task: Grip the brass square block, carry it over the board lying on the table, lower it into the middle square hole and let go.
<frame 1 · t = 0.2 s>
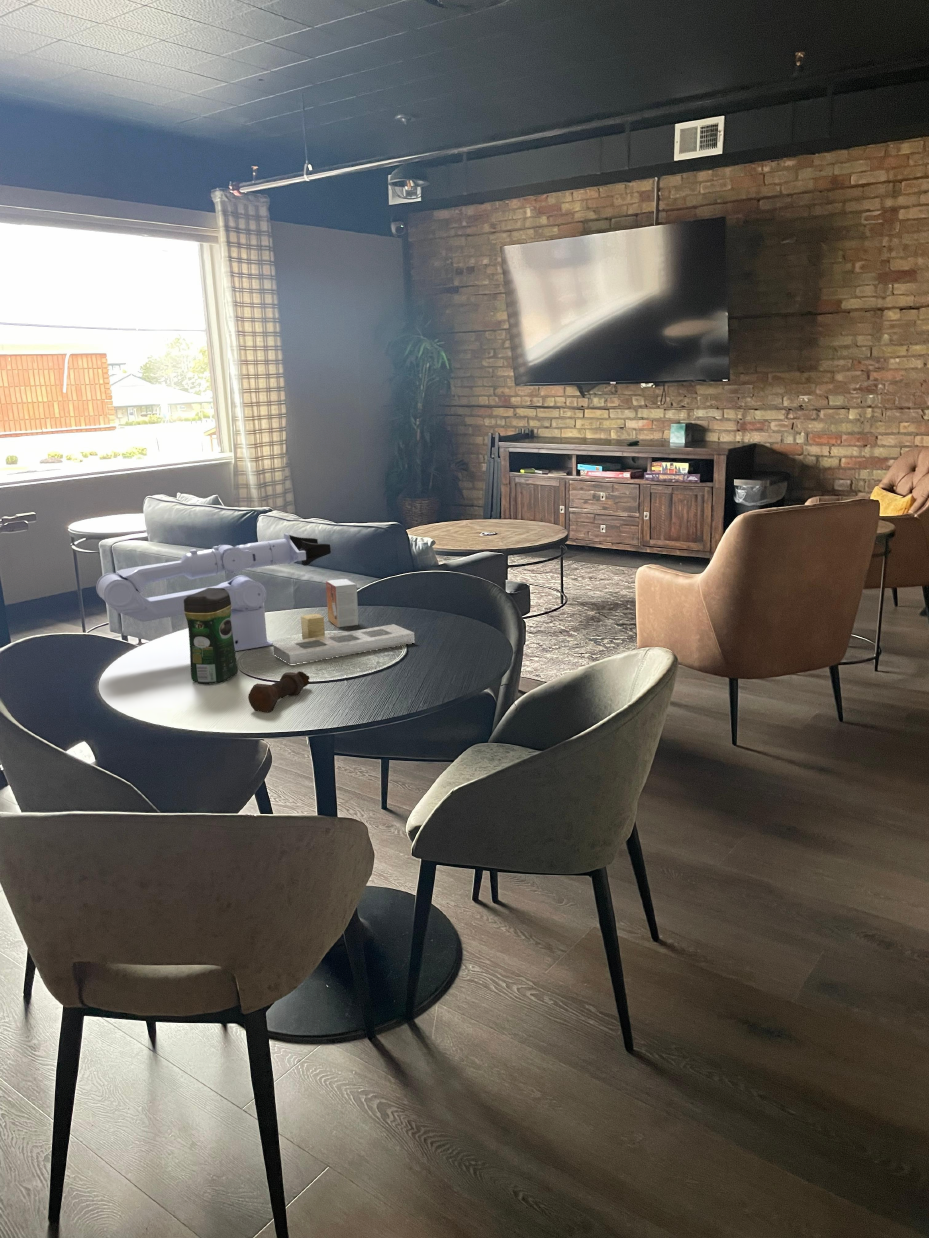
hand: (323, 545, 216), 21 cm above the table, tool horizontal, fingers open, 7 cm apart
bolt: (284, 701, 173), on the table
coffee jar: (214, 679, 187), on the table
block: (313, 641, 213), on the table
board: (345, 649, 206), on the table
small box: (343, 623, 230), on the table
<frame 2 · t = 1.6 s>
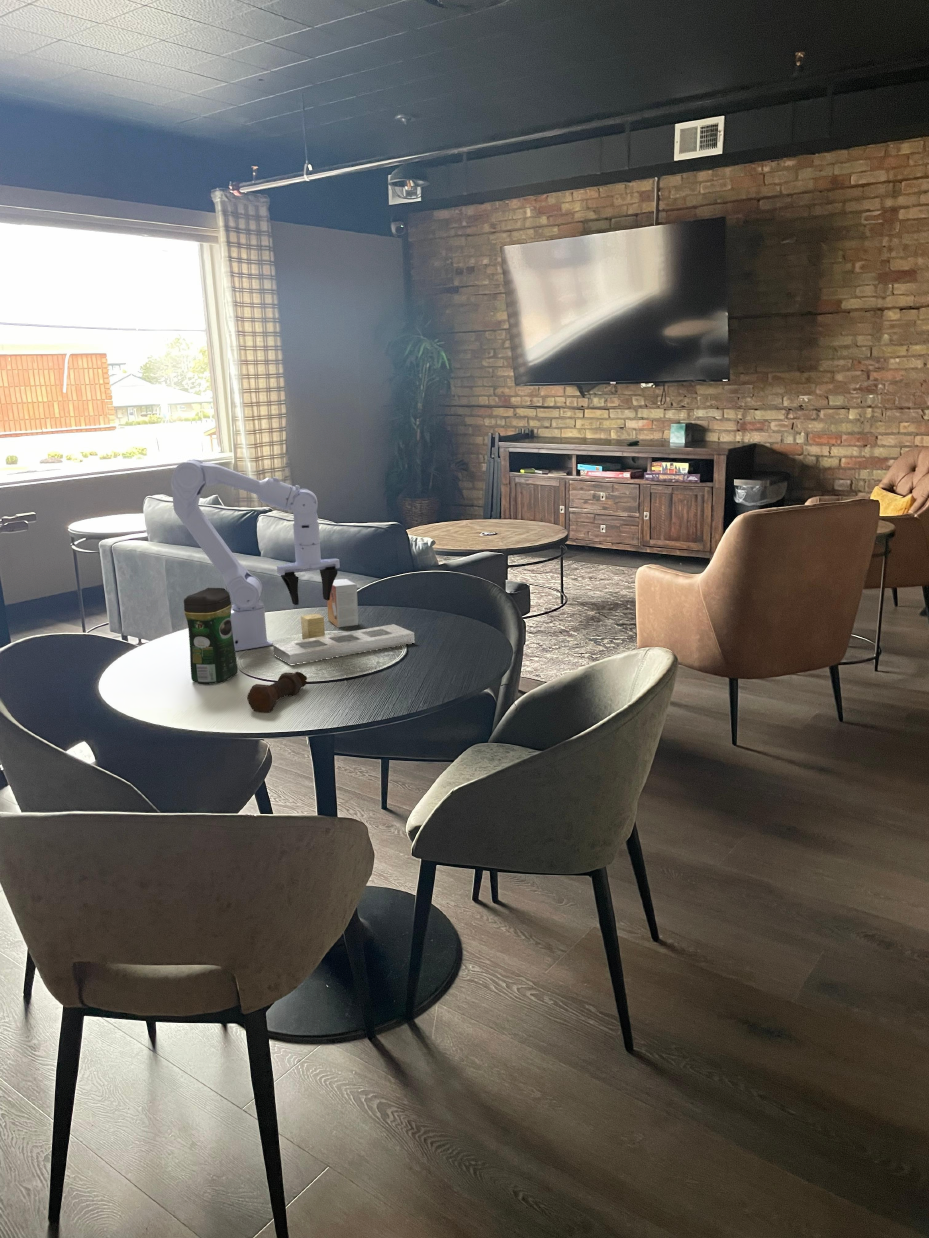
hand: (311, 601, 211), 9 cm above the table, tool pointing down, fingers open, 7 cm apart
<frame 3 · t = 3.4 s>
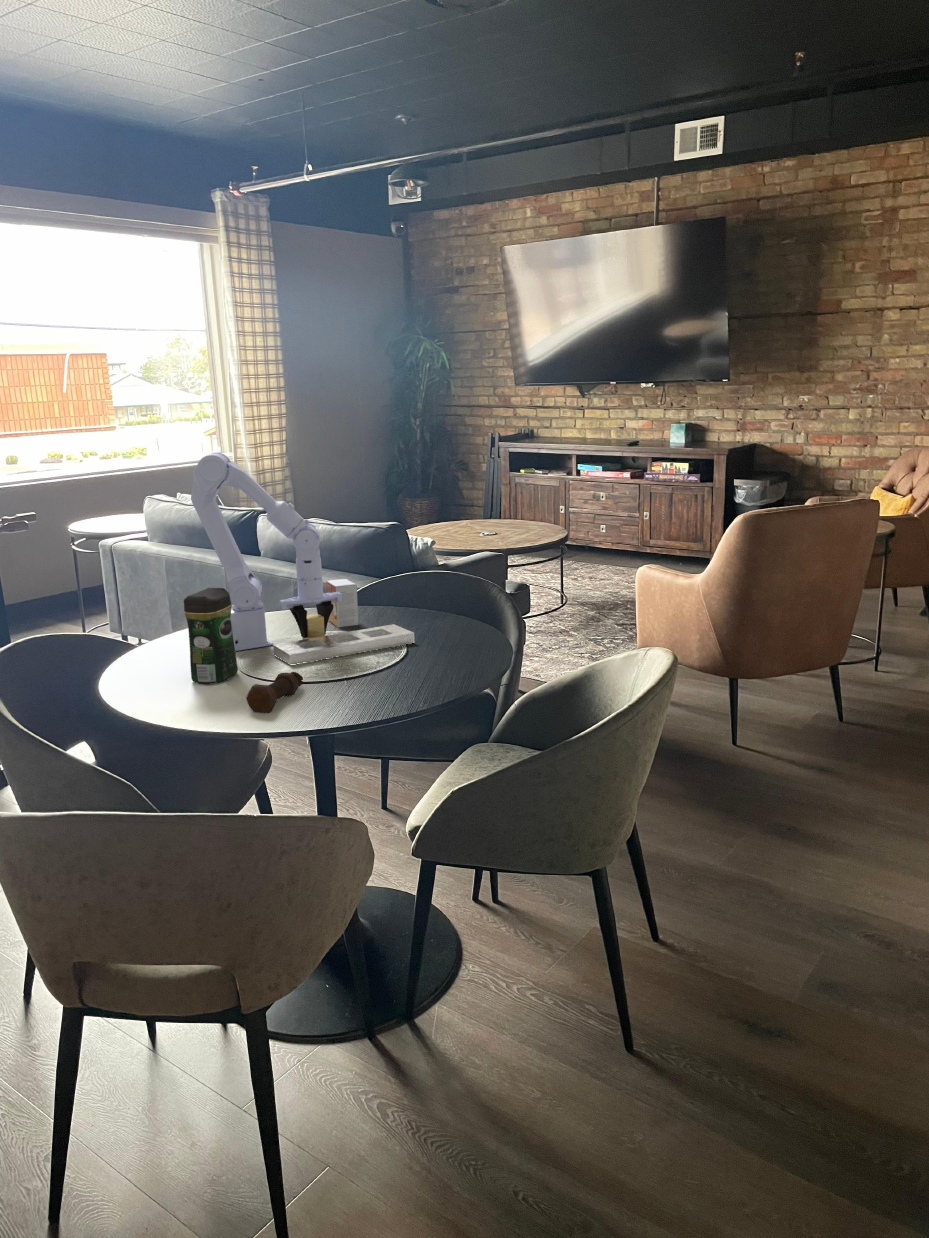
hand: (313, 635, 213), 1 cm above the table, tool pointing down, fingers closed on block, 4 cm apart
block: (313, 641, 213), on the table, touching gripper
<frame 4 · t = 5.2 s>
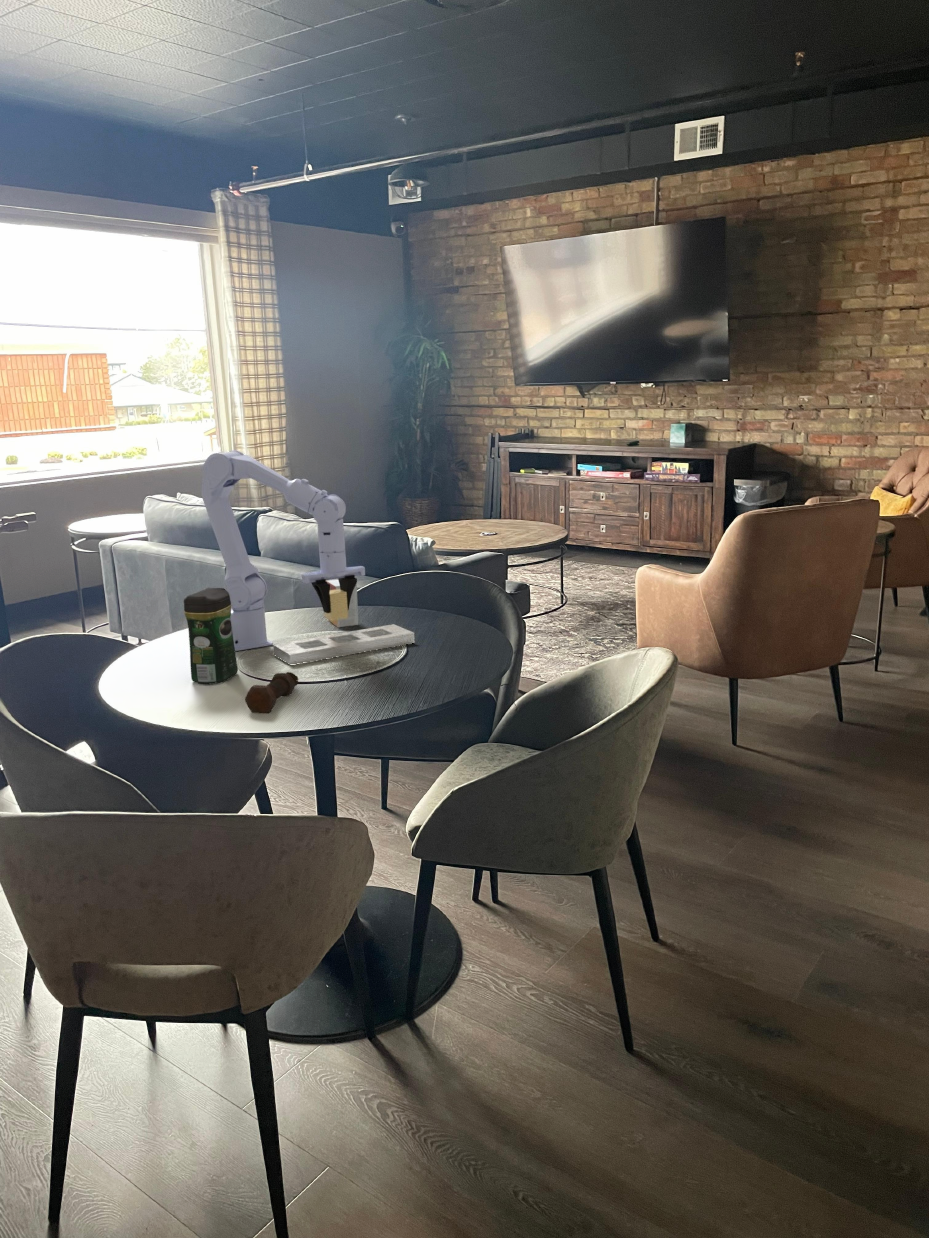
hand: (336, 610, 205), 9 cm above the table, tool pointing down, fingers closed on block, 4 cm apart
block: (336, 617, 206), point 7 cm above the table, touching gripper
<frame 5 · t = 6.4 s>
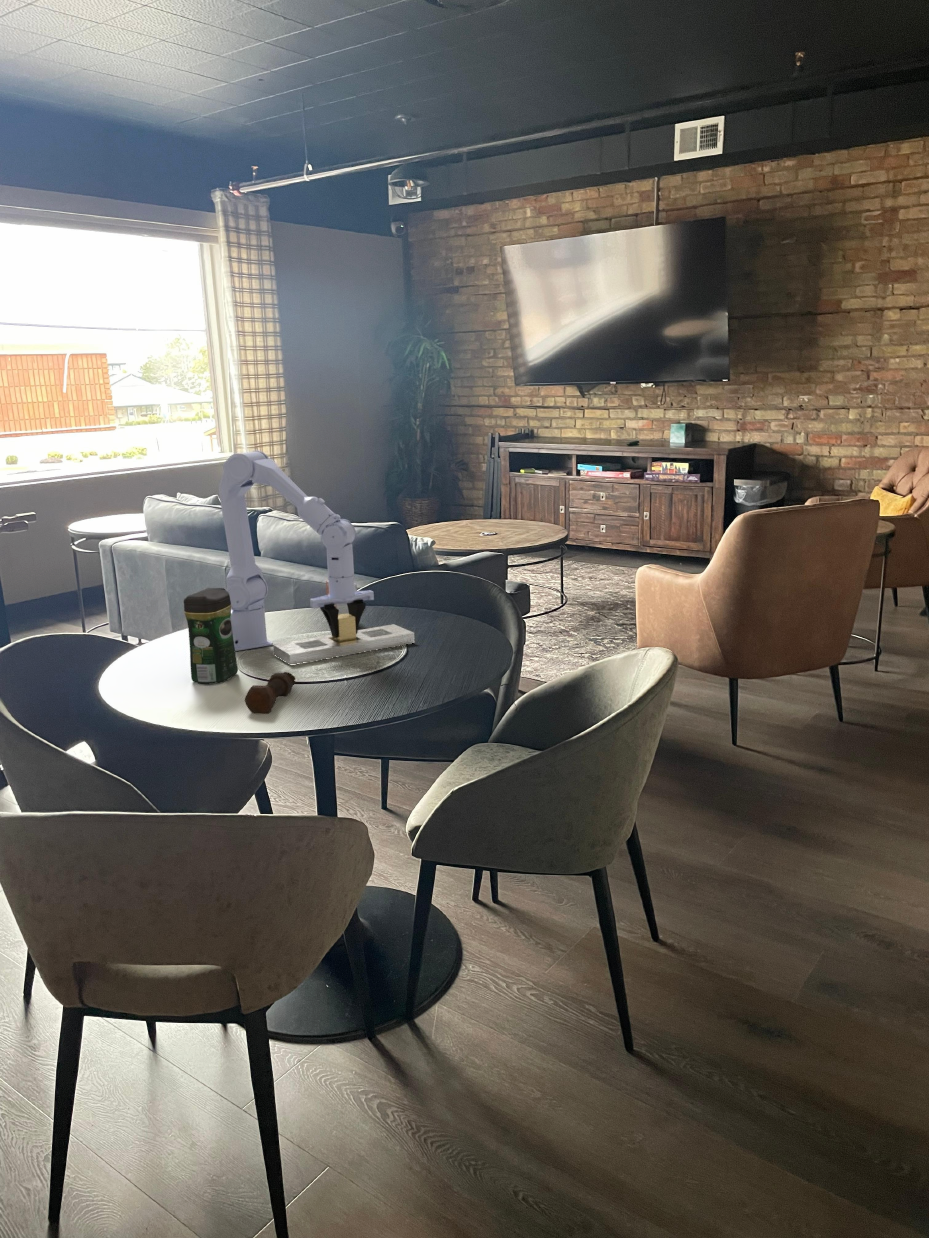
hand: (344, 635, 205), 3 cm above the table, tool pointing down, fingers closed on block, 4 cm apart
block: (344, 642, 206), point 2 cm above the table, touching gripper
when the fingers open (3 cm above the table, at t = 7.2 s): block drops 2 cm, resting in board.
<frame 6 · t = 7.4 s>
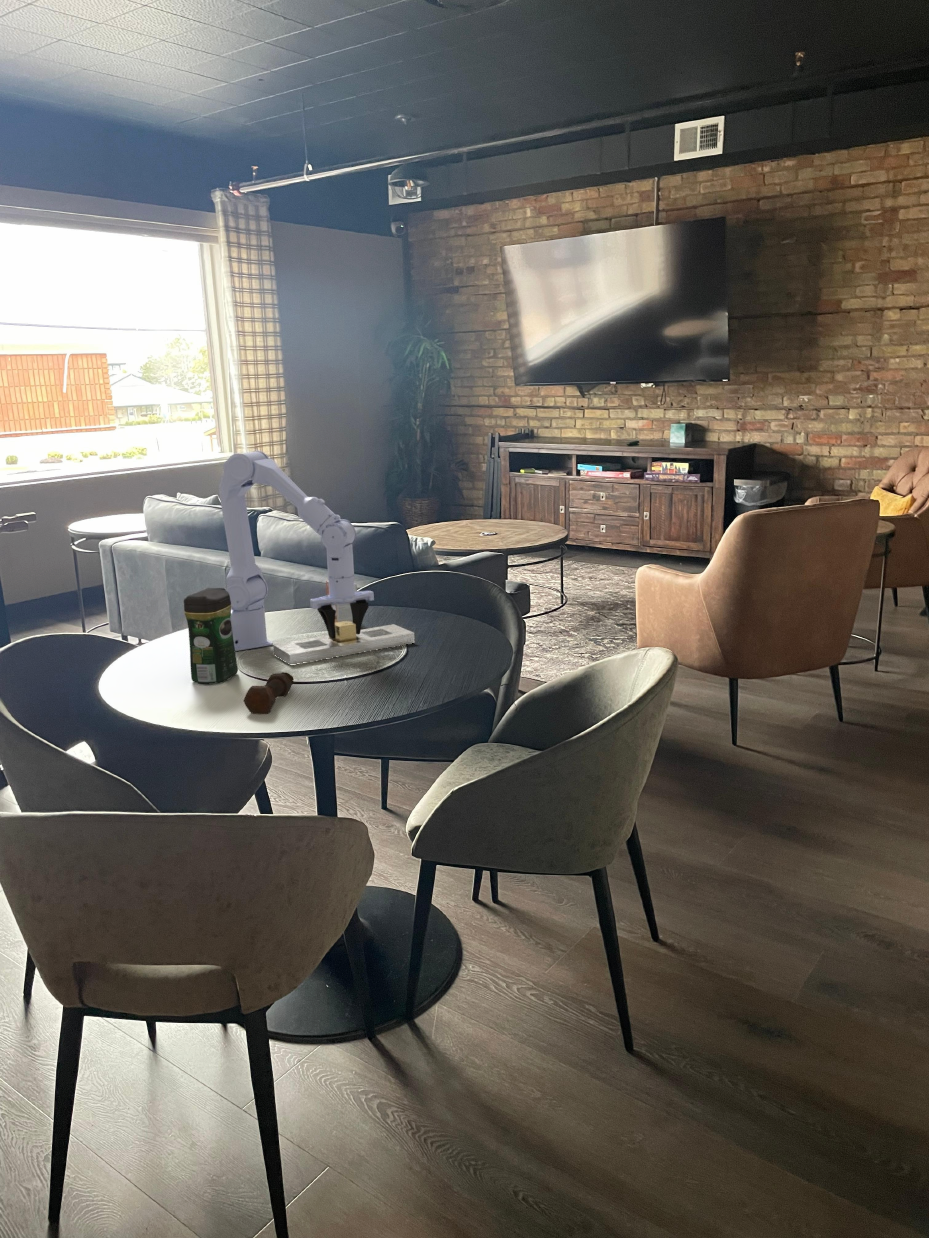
hand: (344, 635, 205), 3 cm above the table, tool pointing down, fingers open, 5 cm apart
block: (345, 649, 206), resting in board
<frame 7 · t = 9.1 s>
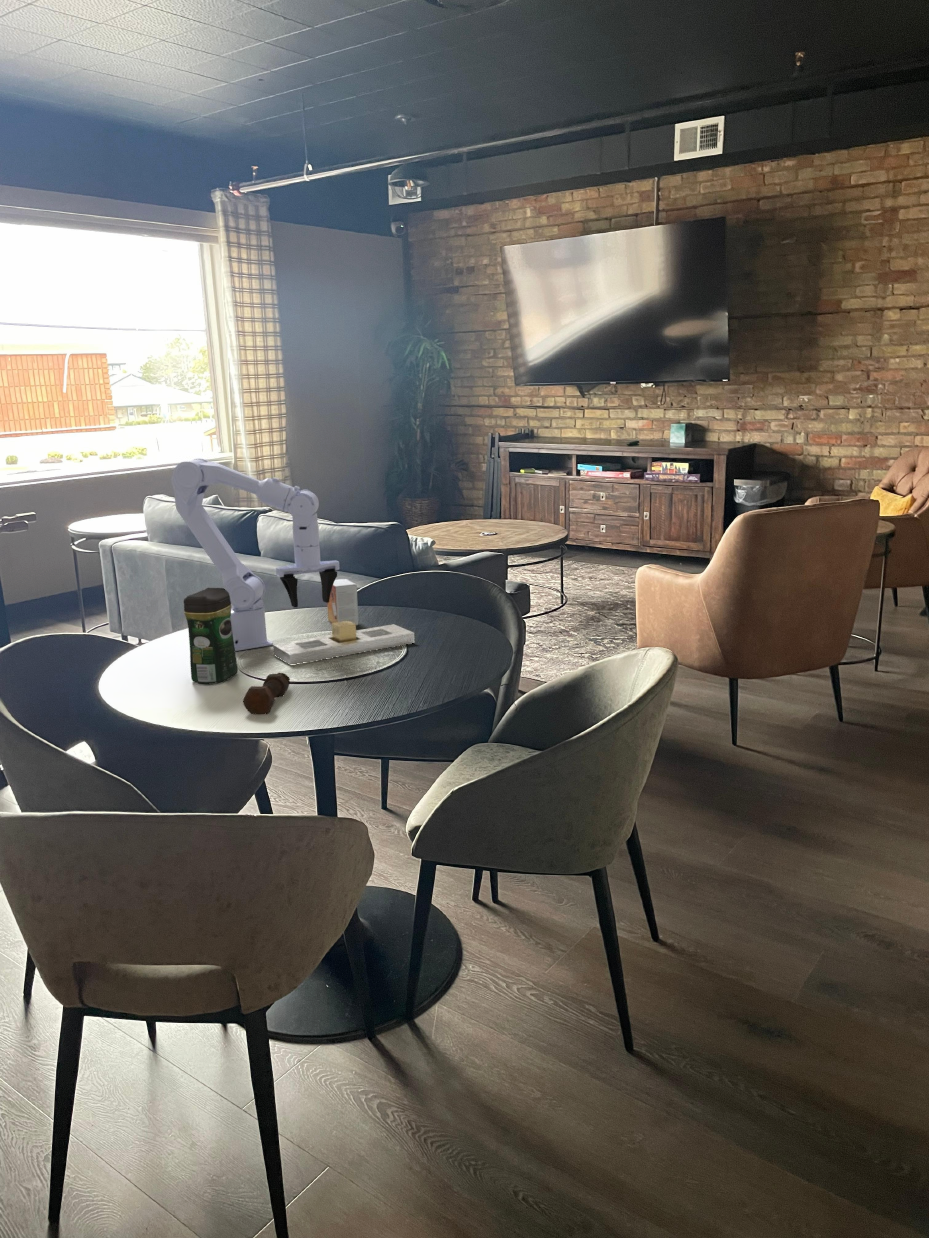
hand: (310, 604, 209), 9 cm above the table, tool pointing down, fingers open, 7 cm apart
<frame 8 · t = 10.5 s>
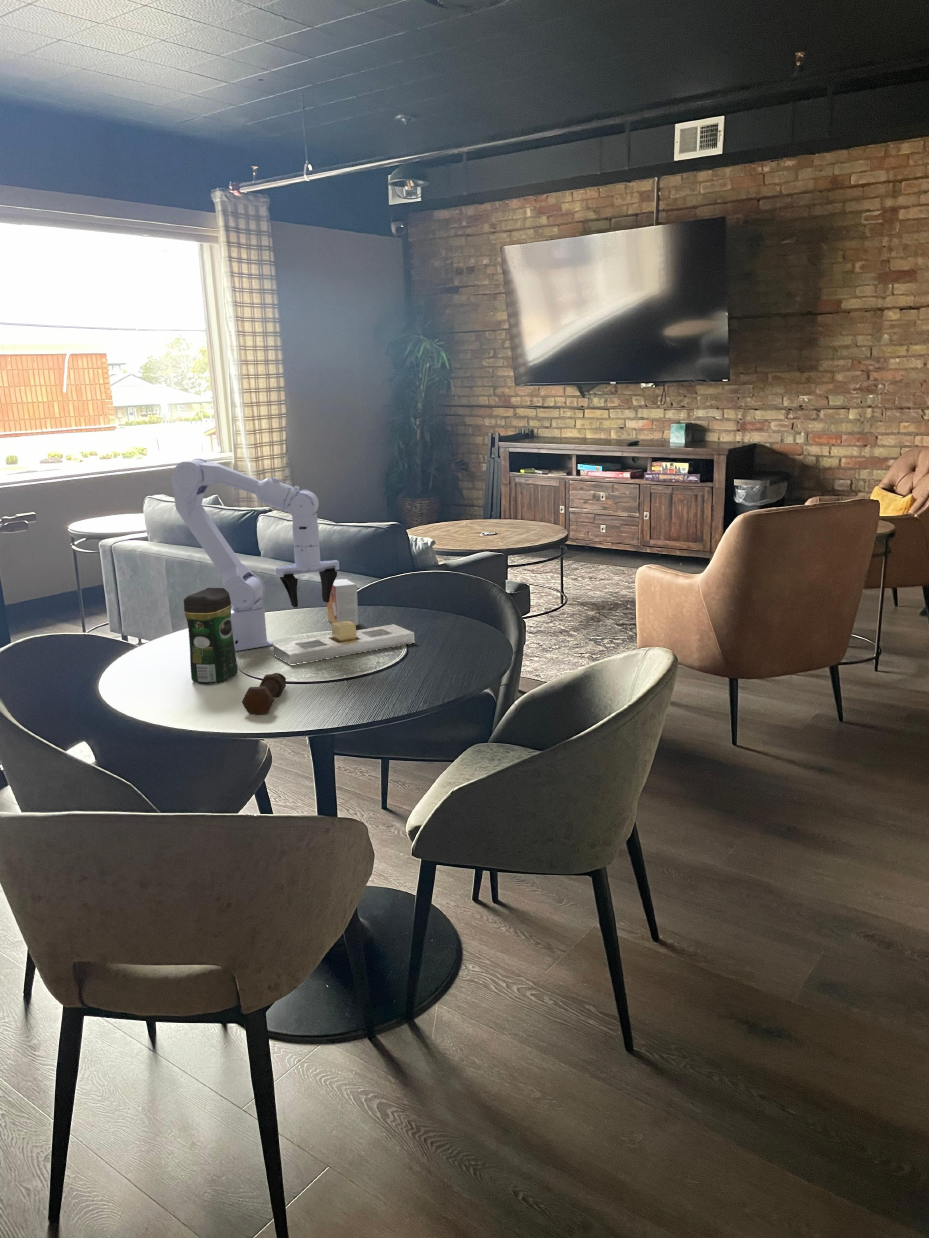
hand: (310, 604, 209), 9 cm above the table, tool pointing down, fingers open, 7 cm apart
at the end: block 0.2 cm off-centre on the board, point 0.0 cm above the board's base; block tilted 0°; the gripper is holding nothing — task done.
